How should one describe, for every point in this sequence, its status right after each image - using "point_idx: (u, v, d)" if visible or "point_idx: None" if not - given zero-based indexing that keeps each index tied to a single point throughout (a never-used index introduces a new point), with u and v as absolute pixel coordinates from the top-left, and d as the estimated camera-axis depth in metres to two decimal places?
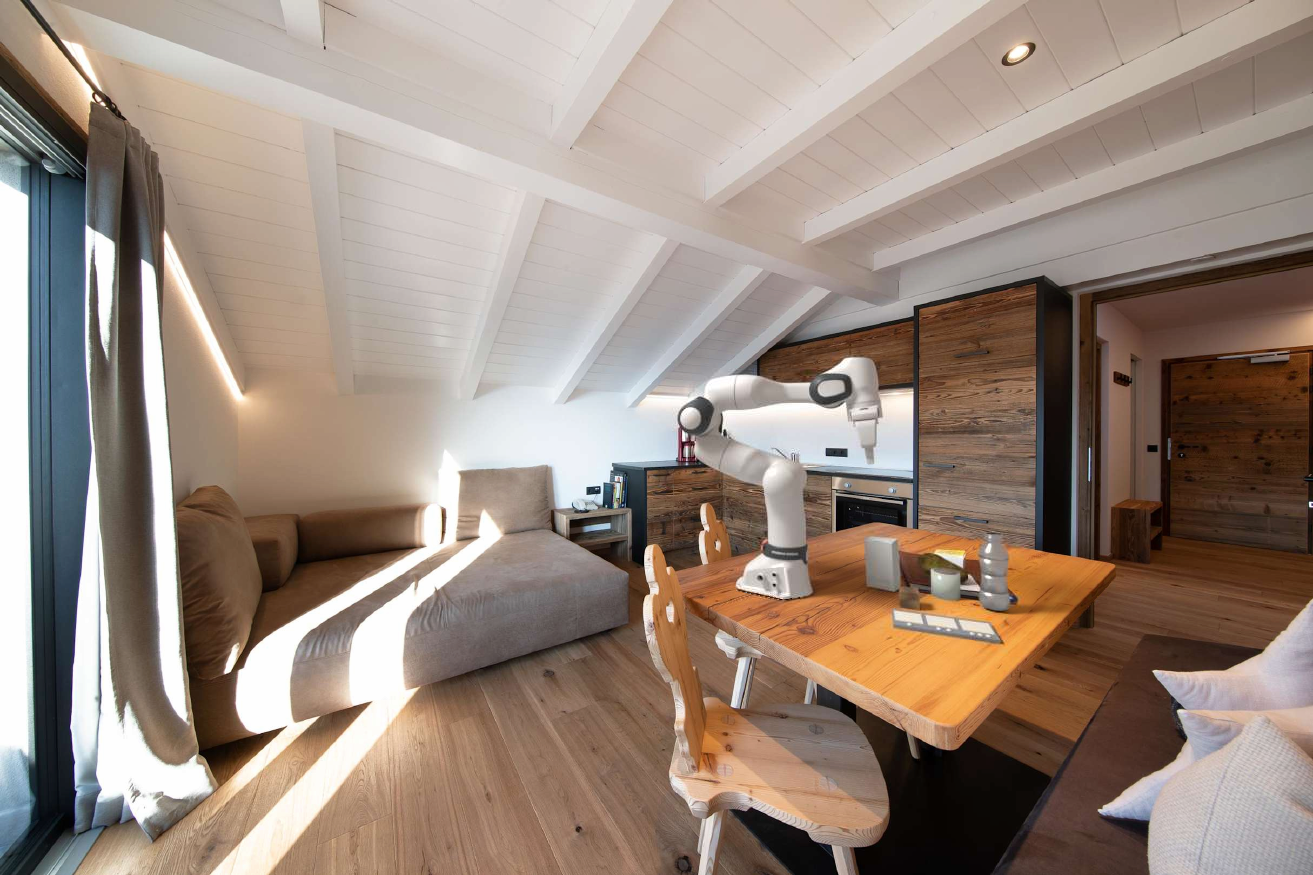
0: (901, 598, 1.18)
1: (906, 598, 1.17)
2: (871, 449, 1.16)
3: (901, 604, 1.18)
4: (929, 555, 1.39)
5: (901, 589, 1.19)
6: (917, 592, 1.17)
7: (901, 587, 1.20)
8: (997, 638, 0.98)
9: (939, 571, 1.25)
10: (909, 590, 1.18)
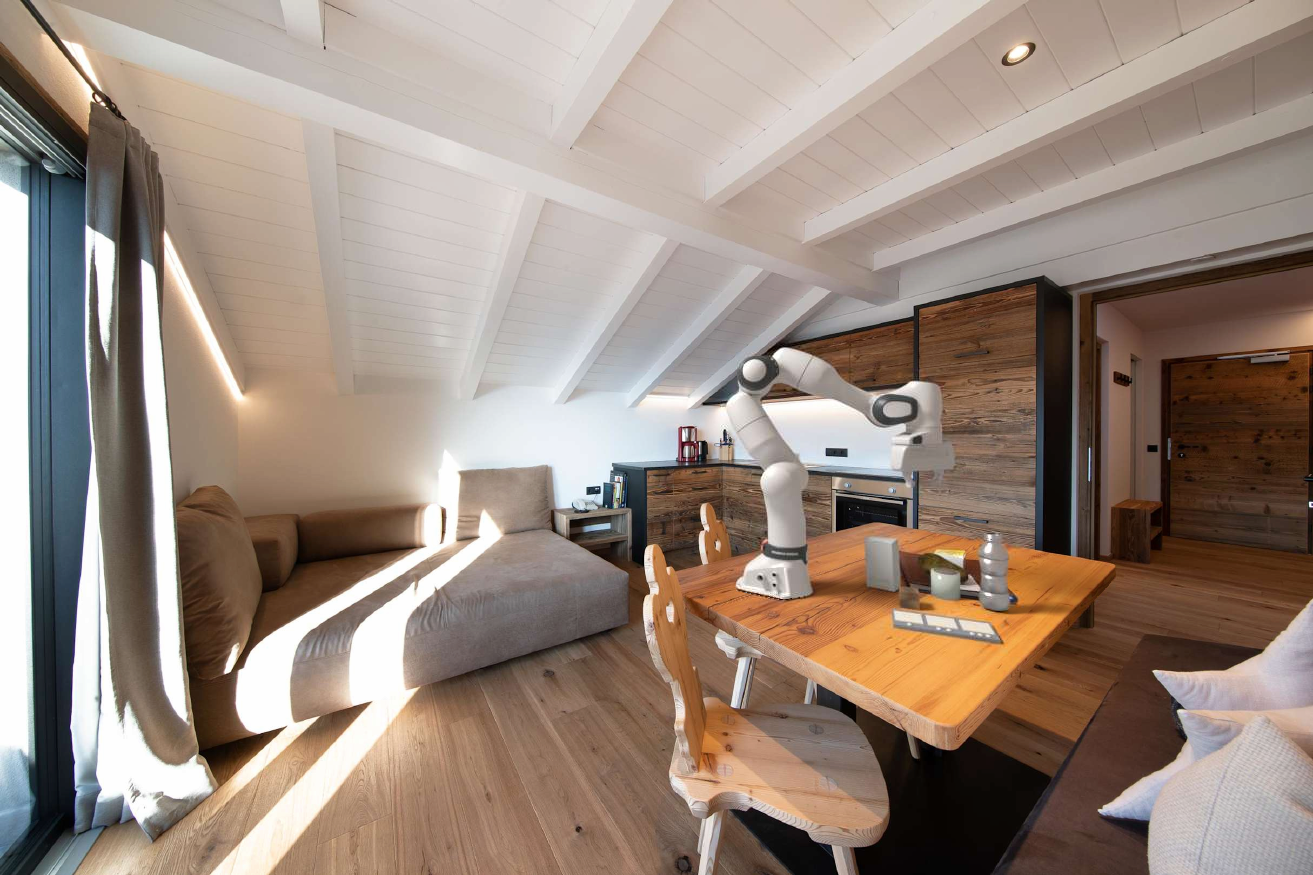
0: (901, 598, 1.18)
1: (906, 598, 1.17)
2: (907, 473, 1.22)
3: (901, 604, 1.18)
4: (929, 555, 1.39)
5: (901, 589, 1.19)
6: (917, 592, 1.17)
7: (901, 587, 1.20)
8: (997, 638, 0.98)
9: (939, 571, 1.25)
10: (909, 590, 1.18)
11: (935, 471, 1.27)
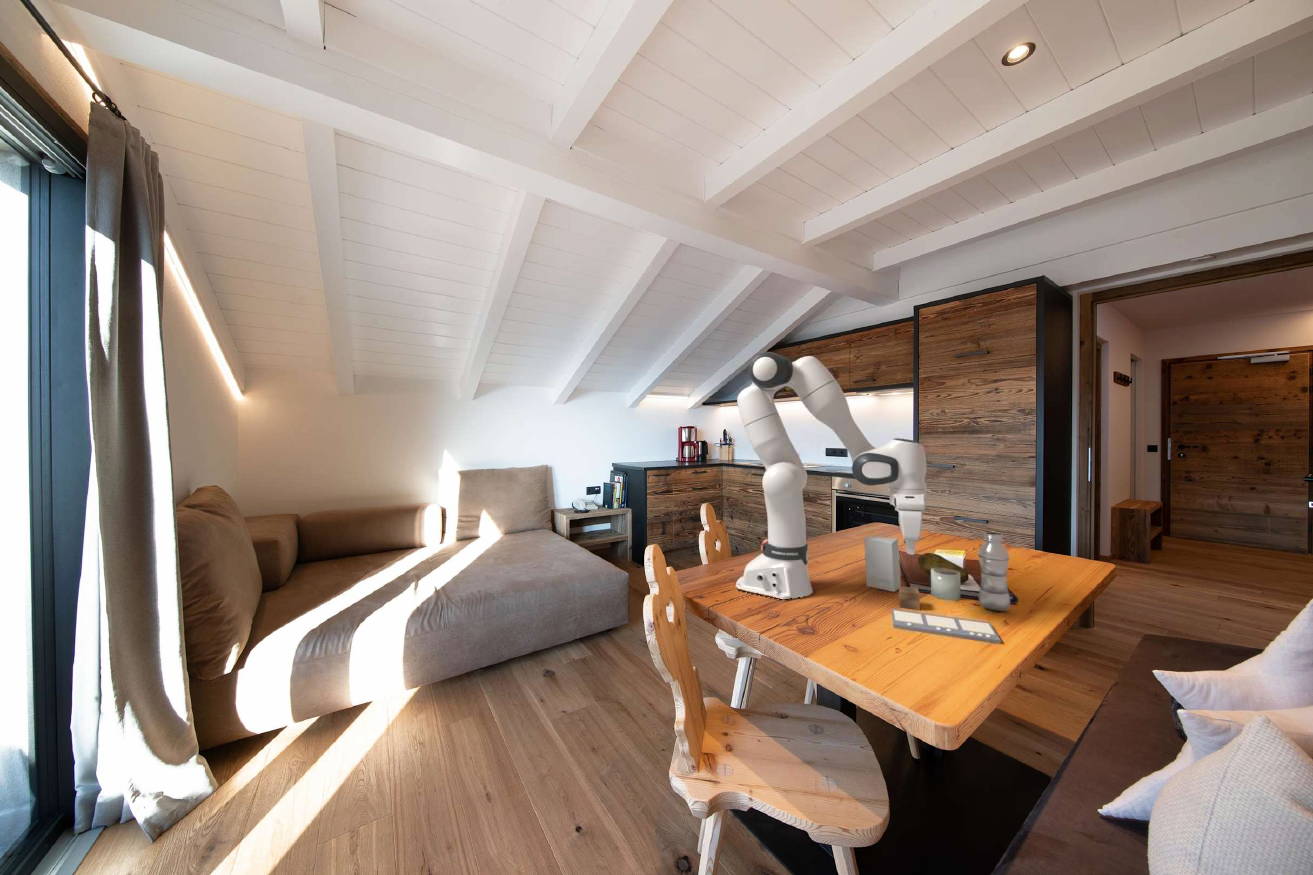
0: (901, 598, 1.18)
1: (906, 598, 1.17)
2: (913, 540, 1.12)
3: (901, 604, 1.18)
4: (929, 555, 1.39)
5: (901, 589, 1.19)
6: (917, 592, 1.17)
7: (901, 587, 1.20)
8: (997, 638, 0.98)
9: (939, 571, 1.25)
10: (909, 590, 1.18)
11: None
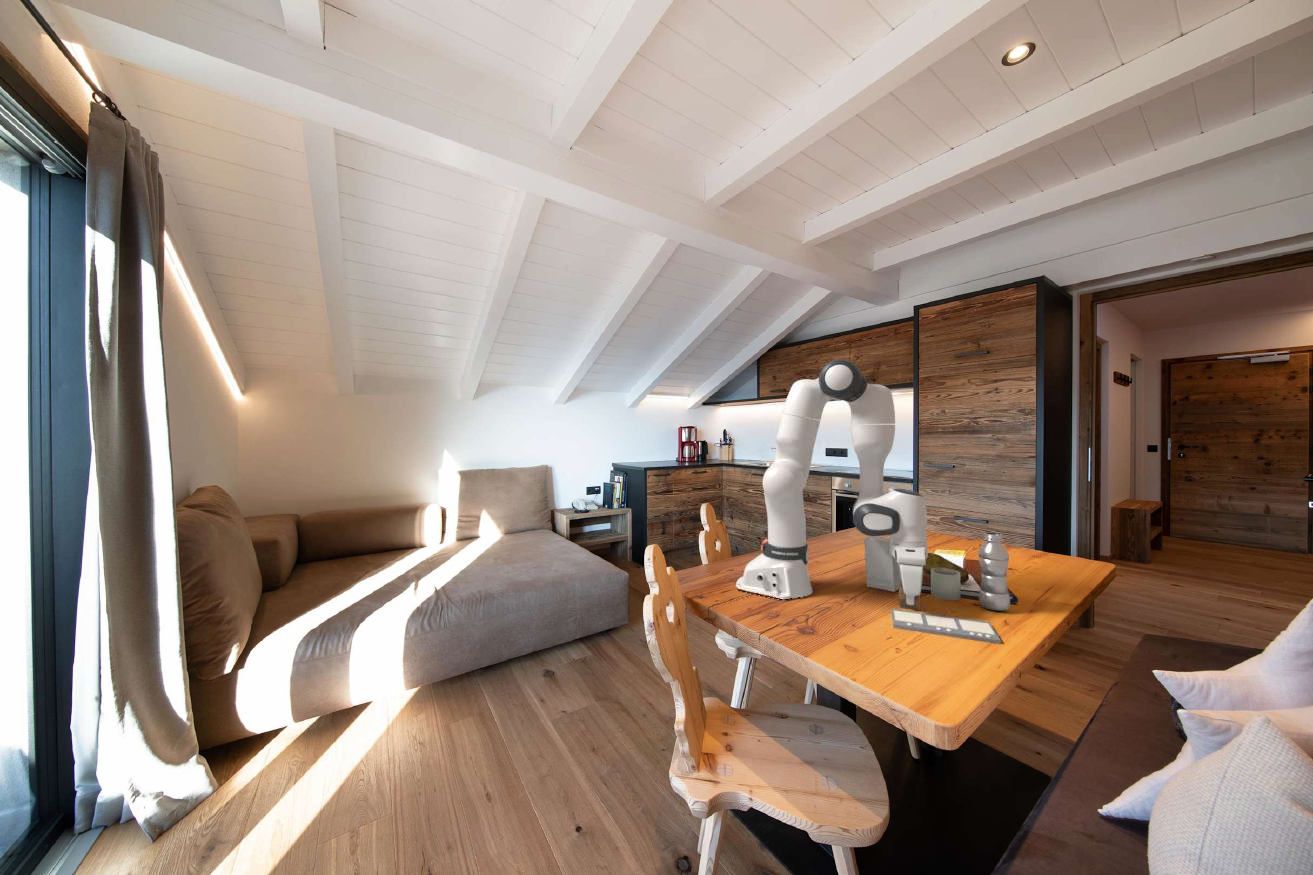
0: (901, 598, 1.18)
1: None
2: None
3: (901, 604, 1.18)
4: (929, 555, 1.39)
5: (901, 589, 1.19)
6: None
7: (901, 587, 1.20)
8: (997, 638, 0.98)
9: (939, 571, 1.25)
10: None
11: None
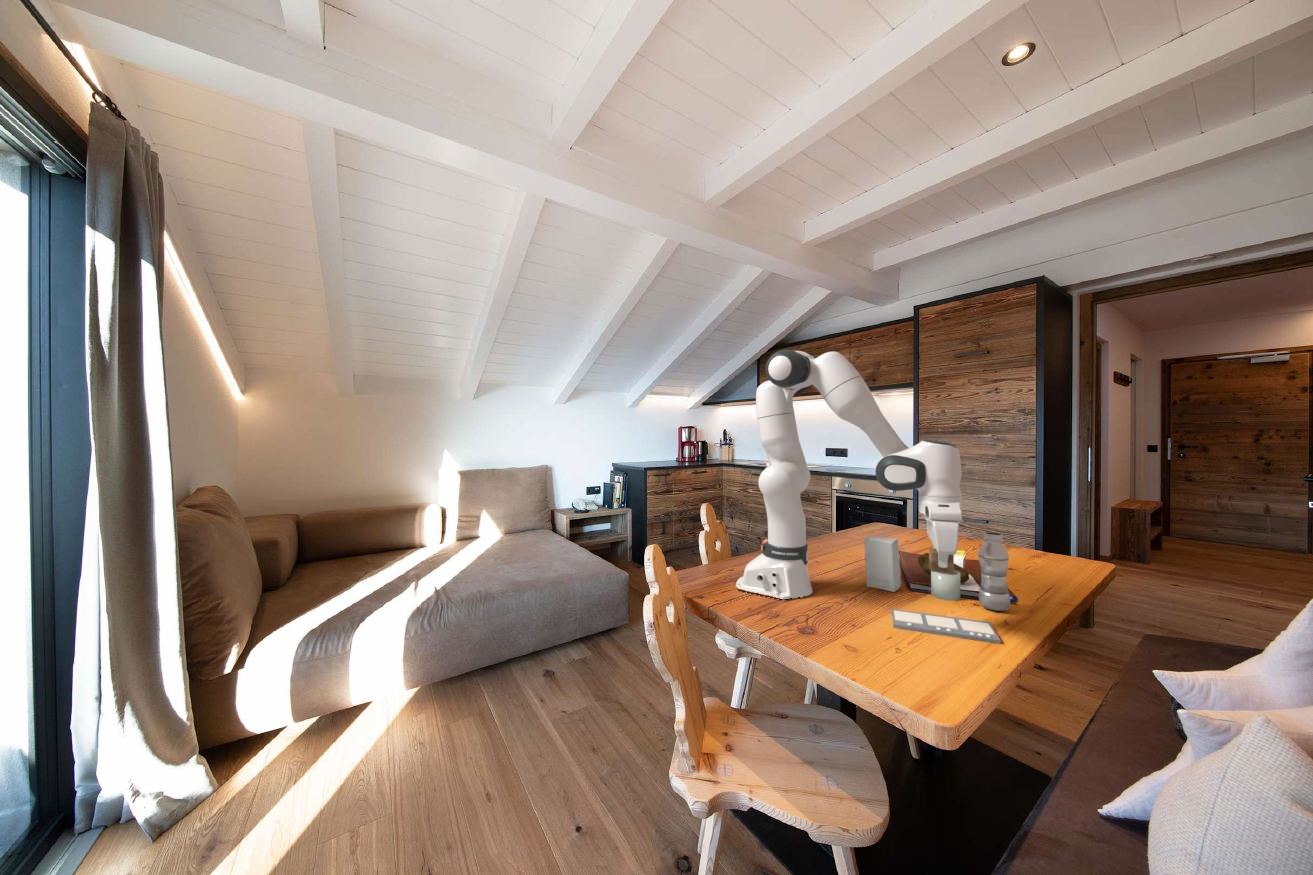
0: (932, 560, 1.05)
1: None
2: None
3: (933, 567, 1.05)
4: None
5: (932, 551, 1.07)
6: None
7: (932, 549, 1.08)
8: (997, 638, 0.98)
9: None
10: None
11: None
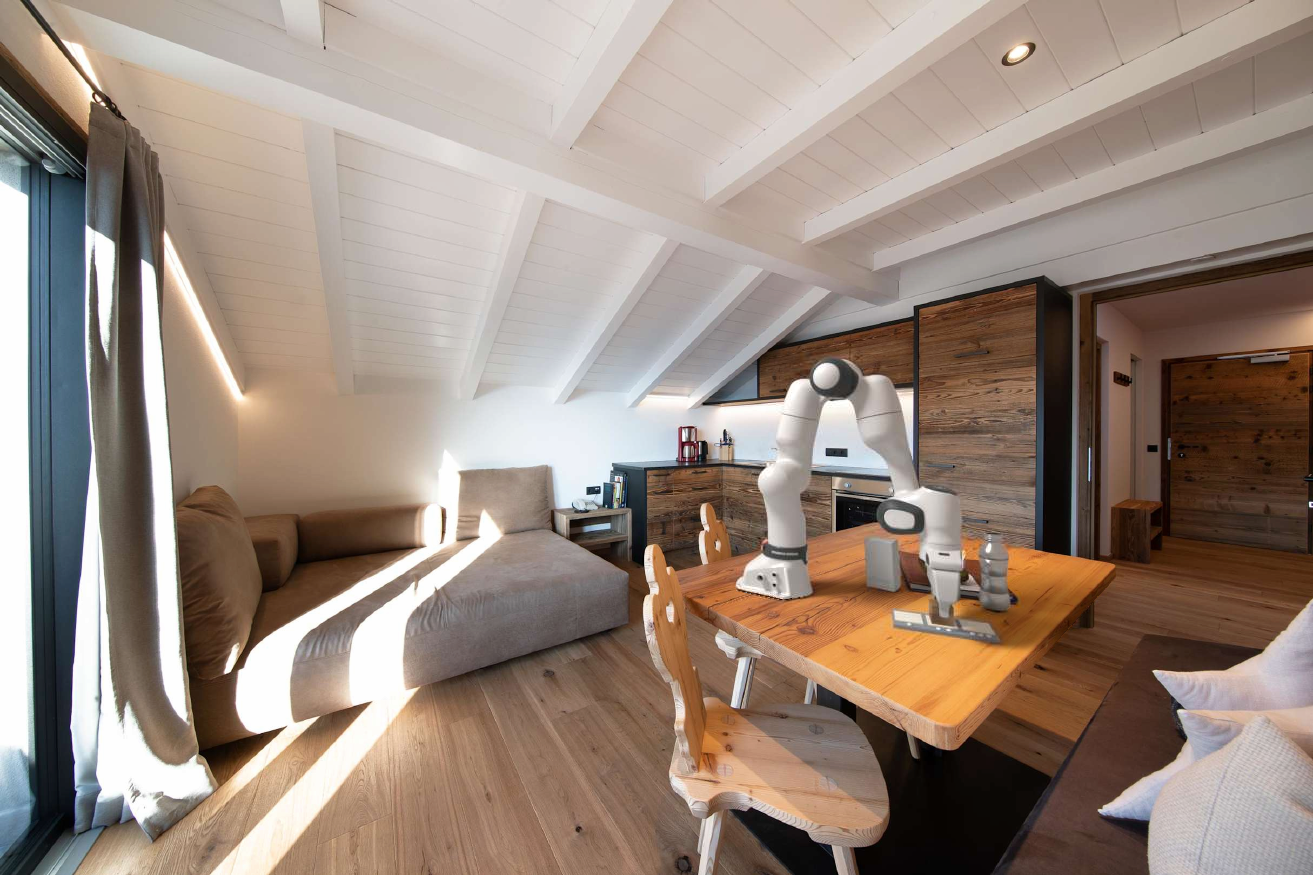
0: (933, 613, 1.06)
1: (938, 613, 1.05)
2: None
3: (933, 619, 1.06)
4: None
5: (932, 602, 1.07)
6: (951, 606, 1.05)
7: (932, 600, 1.08)
8: (997, 638, 0.98)
9: None
10: None
11: None
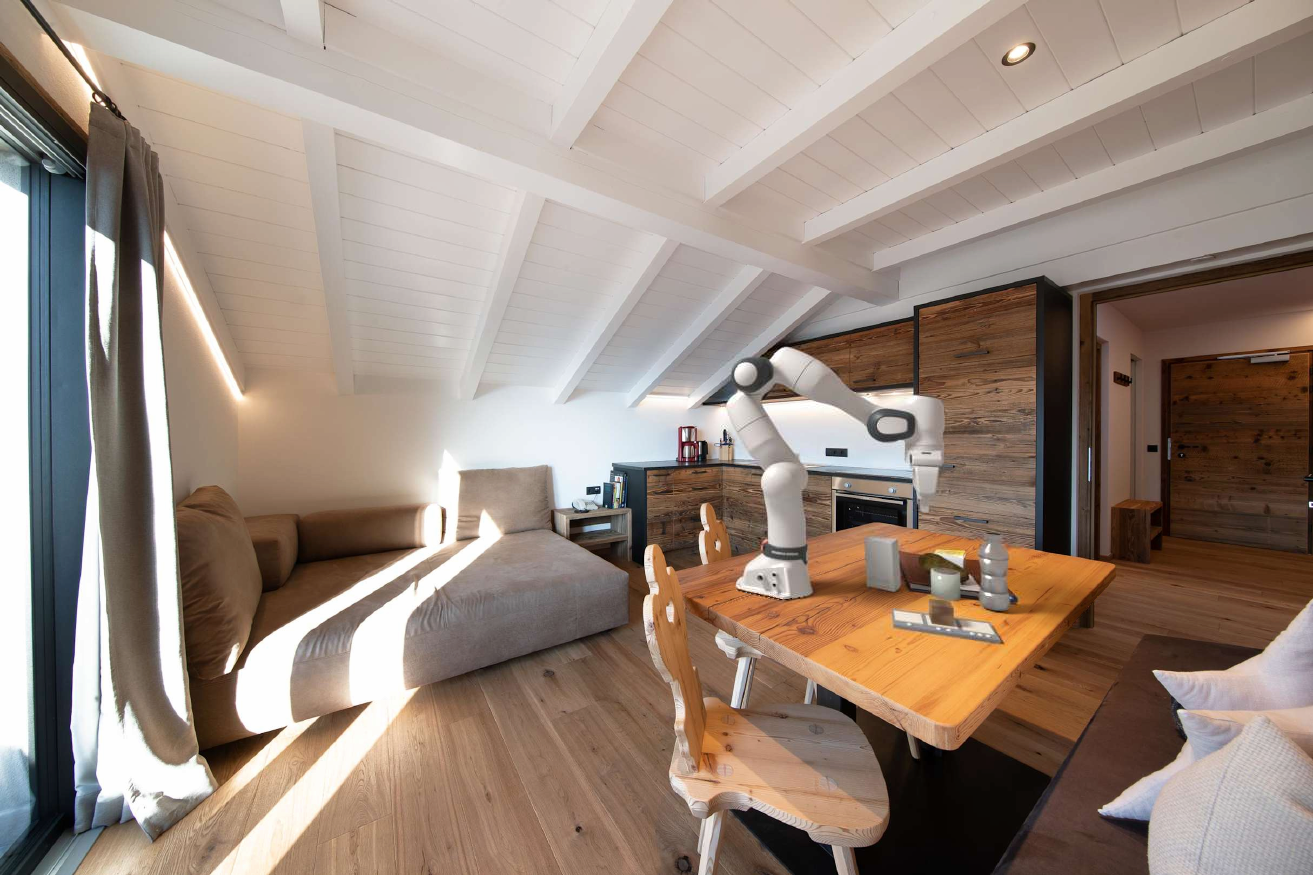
0: (933, 613, 1.06)
1: (938, 613, 1.05)
2: (928, 497, 1.09)
3: (933, 619, 1.06)
4: (930, 555, 1.39)
5: (932, 602, 1.07)
6: (951, 606, 1.05)
7: (932, 600, 1.08)
8: (997, 638, 0.98)
9: (939, 571, 1.25)
10: (941, 604, 1.06)
11: None
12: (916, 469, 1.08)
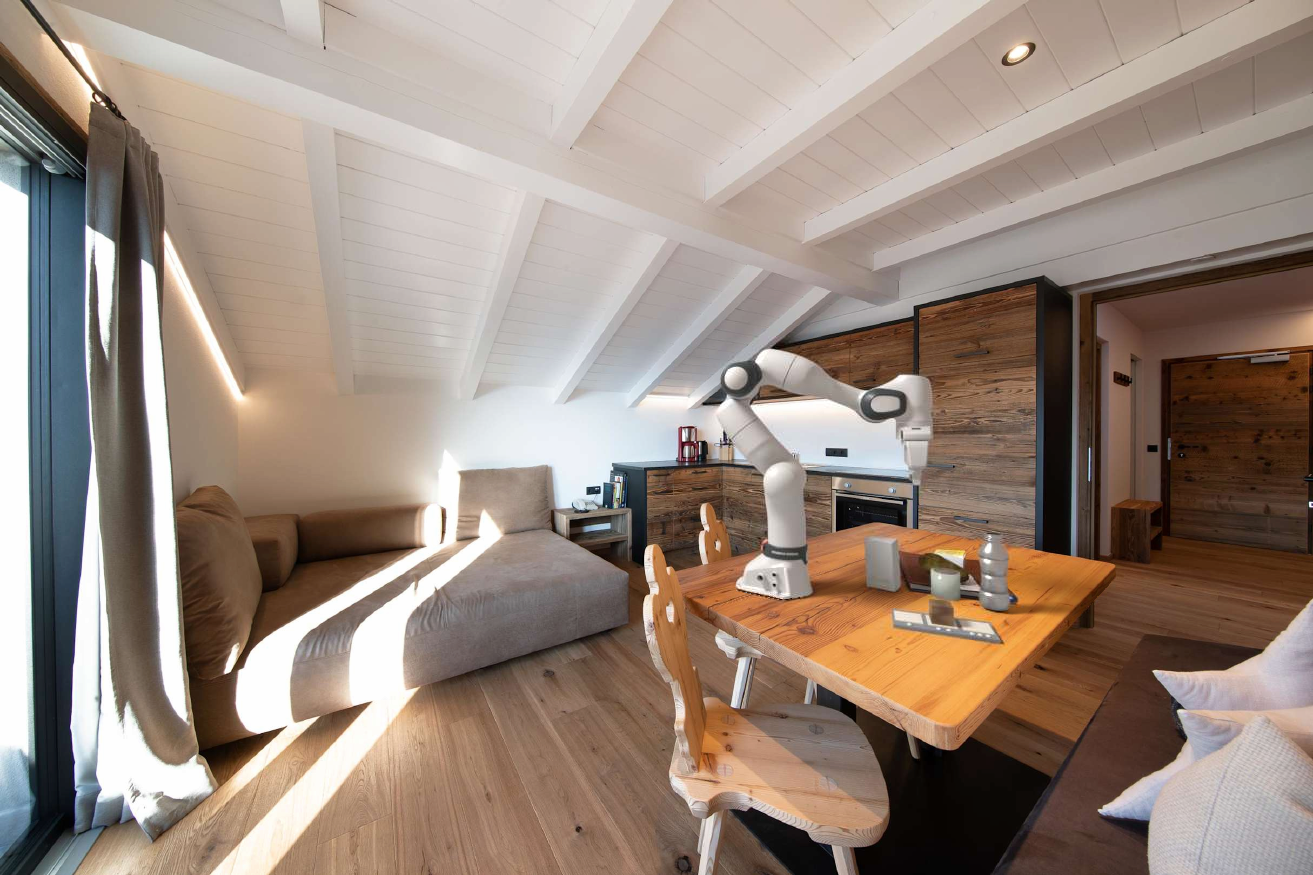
0: (933, 613, 1.06)
1: (938, 613, 1.05)
2: (919, 470, 1.15)
3: (933, 619, 1.06)
4: (930, 555, 1.39)
5: (932, 602, 1.07)
6: (951, 606, 1.05)
7: (932, 600, 1.08)
8: (997, 638, 0.98)
9: (939, 571, 1.25)
10: (941, 604, 1.06)
11: None
12: (907, 444, 1.14)
